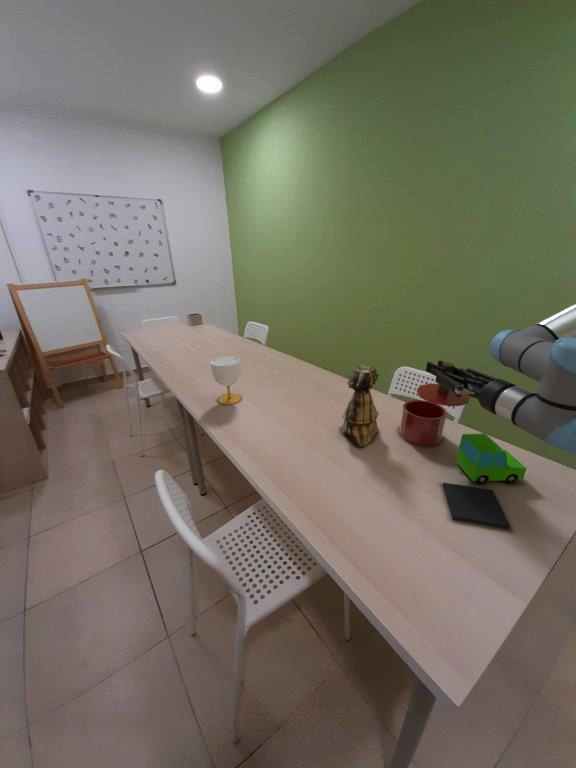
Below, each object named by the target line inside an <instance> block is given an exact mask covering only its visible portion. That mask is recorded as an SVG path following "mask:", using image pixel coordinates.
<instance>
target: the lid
mask: <svg viewBox="0 0 576 768" xmlns="http://www.w3.org/2000/svg"><path fill="white" fill-rule="evenodd" d="M455 367H456V365H455V363H454V362H453V363H452V362H448V361H447V362H445V363H442V368H446V372H449V373H451V374H453V372H454V368H455ZM416 395H417V396H418V397H420V398H421V399H422V400H423V401H428V402H431V403H434V404H438V405H440V406H445V407H461V406H465V405H468V404H469V403H470V401H471V398H472V397H470V396H469V395H468V394H462V395H461V397H456V396H455V395H454V393H453V392H451V391H449V390H448V389H446V388H444V387H443V386H441V385H440V384H438V383H425V384H421V385H419V386H417V389H416Z"/></svg>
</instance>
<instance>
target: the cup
mask: <svg viewBox="0 0 576 768" xmlns="http://www.w3.org/2000/svg"><path fill="white" fill-rule="evenodd" d="M209 363H210V368H211V372H212V376H213V379H214V381H215V382H216V384H218V385H220V386H223V387H226V390H227V394H225V395H223V396H220V397H219V398H218V402H219V403H220V404H222V405H234V404H236V403H238V402H239V401H241V396H240V395H238V394H232V393H231V386H233V385H235V384H237V382H238V381H239V379H240V377H241V359H240V358H239V357H236V356H220V357H216V358H214V359H212V360H210V362H209Z"/></svg>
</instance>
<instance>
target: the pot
mask: <svg viewBox="0 0 576 768" xmlns="http://www.w3.org/2000/svg"><path fill="white" fill-rule="evenodd" d="M447 416H448V412H447V409H446V408H444V407H443V405H439V404H434V403H431V402H428V401H426V400H423V399H422V400H420V399H415V400H414V399H413V400H408V401H406V402H405V403H403V405H402V410H401V416H400V424H399V434H400V436H401V437H402V438H403V439H404V440H405V441H406V442H408V443H411V444H413V445H416V446H423V447H433V446H437V445H438V444H440V443H441V442H442V439H443V436H444V430H445V425H446V422H447V421H446V420H447Z"/></svg>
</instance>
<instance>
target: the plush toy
mask: <svg viewBox="0 0 576 768" xmlns="http://www.w3.org/2000/svg"><path fill="white" fill-rule="evenodd" d="M378 377H380V375H379V374H378V373H377V369H376V367H373V366H370V365H368V364H361V365H360V364H359V365H357V366H356V367H355V368H354V369H353V370H352V371H351V373H350V374H349V375H348V376H347V378H348V380H347V381H346V383H347V385H348V387H347V388H349V389H352V390H354V392H353V394H352V395H351V397H350V400H349V402H348V404H347V406H346V408H345V410H344V412H343V414H342V416H341V418H342V419H343V423H342V427H341V428H340V429H341V433H342V434H343V435H345V436H346V437H348V438H349V439H350V440H351V441H352V442H353V443H354V445H355V446H356V447H360V448H362V447H366V445H368V444H369V443H371V442H372V441H373V440H374V439H373V438H374V436H375V435H376V434H377V433H378V431H379V427H378V422H377V419H378V417H379V415H380V412H378V410H377V408H376V405H375V402H374V398H373V396H372V393H371V390H372V389H373V386H374V385H376V382H377V381H378Z"/></svg>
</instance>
